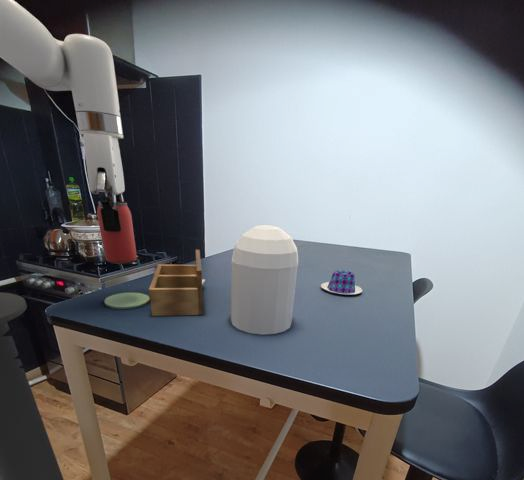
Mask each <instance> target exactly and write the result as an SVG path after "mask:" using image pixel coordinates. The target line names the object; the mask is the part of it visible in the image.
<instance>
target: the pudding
mask: <svg viewBox="0 0 524 480" xmlns="http://www.w3.org/2000/svg"><path fill="white" fill-rule="evenodd" d="M320 287H321V288H322V289H323V290H325V291H327V292H329V293H333V294H337V295H345V296H347V295H348V296H350V295H351V296H352V295H358V294H361V293H362V292H363V291H364V290H363V289H362V287H361V286H358V285H356V280H355V273H354V272H352V271H349V270H344V269H339V270H335V271H334V272H333V273H332V275H331V277H330V279H329V281H327V282H322V283H321V284H320Z"/></svg>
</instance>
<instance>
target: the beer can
mask: <svg viewBox="0 0 524 480" xmlns="http://www.w3.org/2000/svg"><path fill="white" fill-rule="evenodd" d="M97 204H98V205H97V210H96V215H97V221H98V226H99V233H100V238H101V242H102V248H103V254H104V259H105V261H106V262H108V263H111V264H116V265H125V264H130V263H134V262H135V261H136V260H137V259H138V255H137V249H136V247H137V246H136V240H135V233H134V225H133V217H132V212H131V210H130V208H129V207H128V202H126V201H124V202H118V201H116V210H118V211H119V218H120V224H121V231H105V230H104V227H103V221H102V215H101V209H100V201H97Z"/></svg>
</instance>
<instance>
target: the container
mask: <svg viewBox="0 0 524 480" xmlns="http://www.w3.org/2000/svg"><path fill="white" fill-rule="evenodd" d="M298 265H299V253H298V248H297V245H296V243H295V242H294V240H293V237H292V236H291V235H289V234H288V233H287V232H286V231H284V230H283V229H282V228H281V227H279V226H273V225H271V224H270V225H269V224H264V225H262V224H261V225H255V226H253V227H251V228H250V229H248V230H247V231H245V232H244V233H242V234H241V236H240V237H239V238H238V240H237V242H236V243H235V245H234V247H233V253H232V257H231V268H230V269H231V270H230V271H231V273H230V274H231V275H230V277H231V278H230V279H231V282H230V321H231V322H230V323H231V324H232V326H233V327H235V328H236V329H237V330H239V331H242V332H245V333H247V334H252V335H253V334H254V335H263V336H264V335H277V334H279V333H284V332H286V331H287V330H289V329H290V328H291V325H292V320H293V311H294V303H295V302H294V301H295V291H296V283H297V276H298V275H297V274H298Z"/></svg>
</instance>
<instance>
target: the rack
mask: <svg viewBox="0 0 524 480" xmlns="http://www.w3.org/2000/svg"><path fill="white" fill-rule="evenodd" d="M200 251H201V250H200V249H195V264H166V263H165V264H164V263H163V264H157V265H156V268H155V272H154V275H153V277H152V280H151V283H150V286H149V289H148V294H149V295H148V296H149V298H150V301H149V303H150V312H151V316H152V317H164V316H165V317H166V316H169V317H170V316H204V302H203V301H204V299H203V284H202V279H203V277H202V276H203V273H202V262H201V252H200Z"/></svg>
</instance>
